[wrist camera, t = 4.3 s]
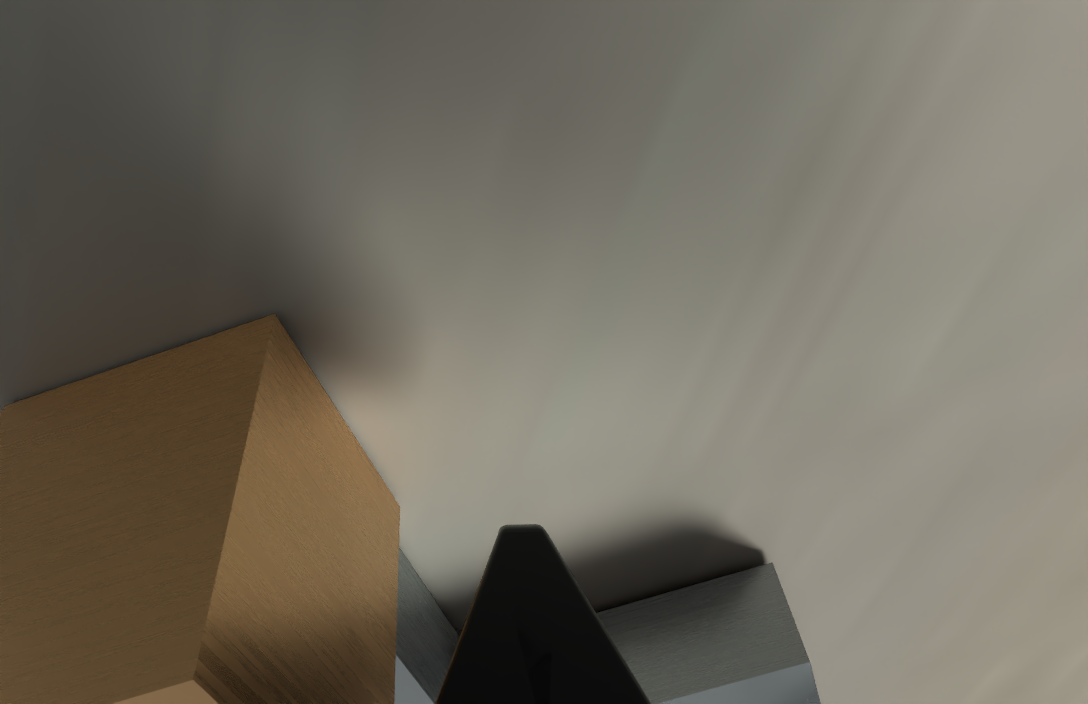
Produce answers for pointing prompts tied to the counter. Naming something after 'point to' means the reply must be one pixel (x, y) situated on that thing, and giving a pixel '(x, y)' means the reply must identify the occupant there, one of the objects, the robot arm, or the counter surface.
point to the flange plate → (275, 555)
